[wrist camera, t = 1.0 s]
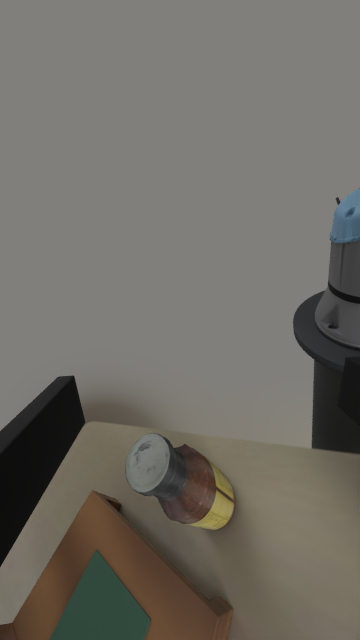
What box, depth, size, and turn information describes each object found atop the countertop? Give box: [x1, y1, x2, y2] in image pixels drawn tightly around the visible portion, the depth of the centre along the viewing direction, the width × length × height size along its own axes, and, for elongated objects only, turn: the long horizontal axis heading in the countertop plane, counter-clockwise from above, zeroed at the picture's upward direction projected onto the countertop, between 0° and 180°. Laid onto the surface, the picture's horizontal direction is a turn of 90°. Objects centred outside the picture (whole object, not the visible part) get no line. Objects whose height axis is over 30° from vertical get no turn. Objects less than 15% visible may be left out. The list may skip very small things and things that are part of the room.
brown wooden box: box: [0, 490, 233, 640], centre depth 20 cm, size 14×20×8 cm
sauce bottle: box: [125, 433, 235, 530], centre depth 22 cm, size 7×6×20 cm
